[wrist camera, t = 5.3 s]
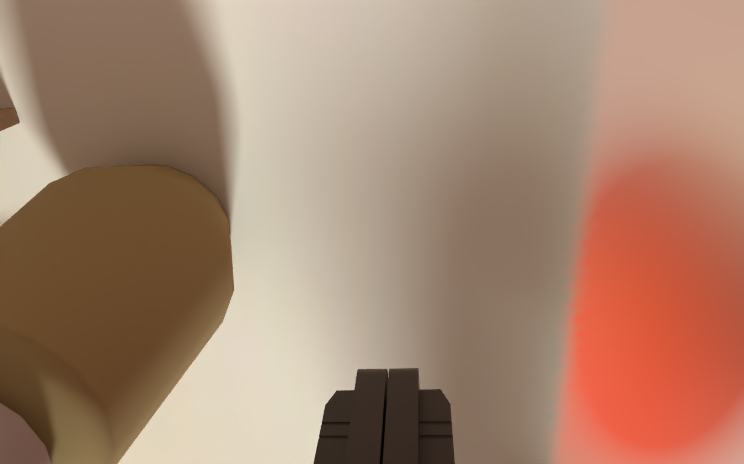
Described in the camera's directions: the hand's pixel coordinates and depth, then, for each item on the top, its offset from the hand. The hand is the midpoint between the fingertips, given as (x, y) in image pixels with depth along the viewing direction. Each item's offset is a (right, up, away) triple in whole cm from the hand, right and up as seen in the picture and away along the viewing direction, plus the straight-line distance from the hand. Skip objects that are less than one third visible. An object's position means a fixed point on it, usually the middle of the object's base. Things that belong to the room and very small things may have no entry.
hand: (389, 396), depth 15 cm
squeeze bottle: (-9, +4, +11) cm, 15 cm away
